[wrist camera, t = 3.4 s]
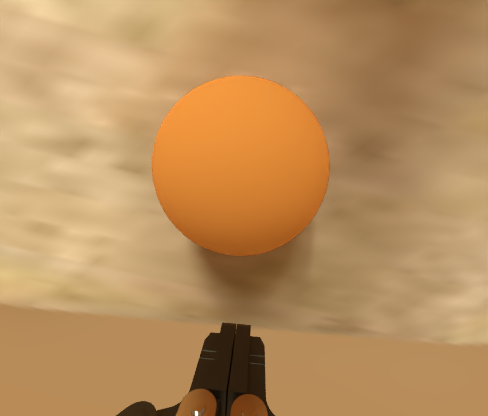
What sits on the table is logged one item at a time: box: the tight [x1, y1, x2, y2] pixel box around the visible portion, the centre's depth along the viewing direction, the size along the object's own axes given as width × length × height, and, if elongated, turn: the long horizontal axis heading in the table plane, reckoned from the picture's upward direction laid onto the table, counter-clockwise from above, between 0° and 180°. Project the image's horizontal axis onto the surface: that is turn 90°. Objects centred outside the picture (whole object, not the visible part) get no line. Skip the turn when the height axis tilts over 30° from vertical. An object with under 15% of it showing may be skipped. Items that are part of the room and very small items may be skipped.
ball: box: [152, 76, 330, 256], centre depth 8 cm, size 6×6×6 cm
